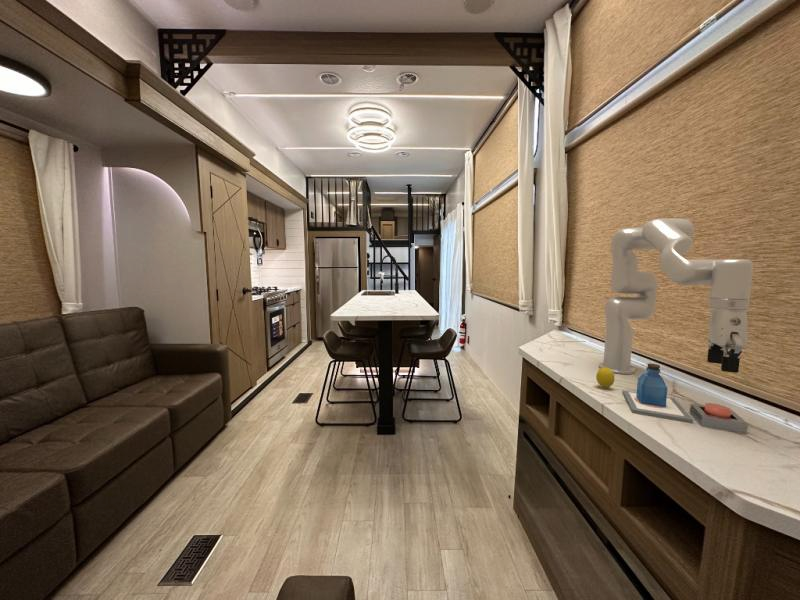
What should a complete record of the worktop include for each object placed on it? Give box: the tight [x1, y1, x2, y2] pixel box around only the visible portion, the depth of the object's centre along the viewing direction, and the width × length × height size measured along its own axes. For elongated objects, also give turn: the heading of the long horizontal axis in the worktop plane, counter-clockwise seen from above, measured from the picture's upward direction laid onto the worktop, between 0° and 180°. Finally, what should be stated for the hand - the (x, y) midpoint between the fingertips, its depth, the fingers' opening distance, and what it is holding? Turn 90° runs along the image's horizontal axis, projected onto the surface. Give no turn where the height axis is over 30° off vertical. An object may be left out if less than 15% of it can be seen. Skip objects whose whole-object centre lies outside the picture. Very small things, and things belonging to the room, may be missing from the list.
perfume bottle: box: [636, 363, 668, 408], centre depth 98 cm, size 6×6×12 cm
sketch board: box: [621, 389, 694, 424], centre depth 98 cm, size 17×14×1 cm
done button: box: [704, 402, 732, 419], centre depth 88 cm, size 5×5×3 cm
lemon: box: [595, 367, 615, 389], centre depth 113 cm, size 6×6×8 cm
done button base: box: [689, 403, 749, 435], centre depth 88 cm, size 9×9×3 cm
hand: (721, 366), depth 87 cm, fingers open, 8 cm apart
